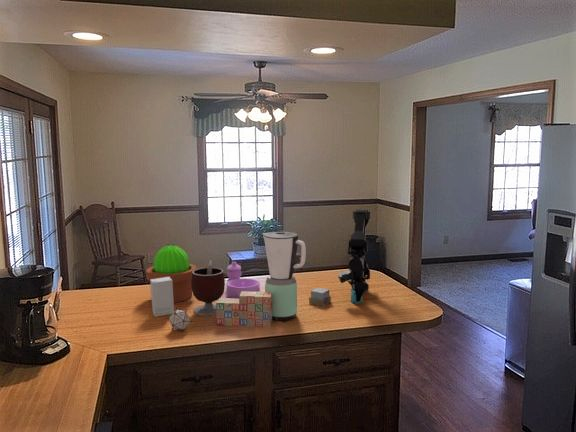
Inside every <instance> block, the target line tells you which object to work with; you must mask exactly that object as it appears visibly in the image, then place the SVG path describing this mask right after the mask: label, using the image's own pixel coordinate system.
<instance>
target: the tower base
mask: <svg viewBox="0 0 576 432" xmlns="http://www.w3.org/2000/svg"><path fill="white" fill-rule="evenodd" d="M308 298H309V299H308V303H309V305H315V306H319V307H324V306H326V305H328V304H330V303H331V302H332V299H331V298H332V297H331V295H329V297H327V298H325V299H323V300H321V299H316V298H311V296H310V297H308Z"/></svg>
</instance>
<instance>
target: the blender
mask: <svg viewBox="0 0 576 432" xmlns="http://www.w3.org/2000/svg"><path fill="white" fill-rule="evenodd" d="M261 235H262V237H263V240H264V246H265V247H264V248H265V254H266V259H267V266H268V272H269V275H268V276H267V277H266V280H265V284H264V292H272V320H273V319H274V320H282V321H283V322H289V319H292V318H294V317H295V316H296V315H297V313H298V283H297V279H296V277H295V276H294V270H295V269H301V268H302V267H304V266H305V262H306V258H307V248H306V246H307V245H306V243H305V242H304V240H300V239H299V235H298V233H296V232H291V231H272V232H271V231H270V232H262V233H261ZM299 245H300V247H301V249H300V250H301V251H300V262H299V263H296V261H297V254H298V253H297V251H298V246H299Z"/></svg>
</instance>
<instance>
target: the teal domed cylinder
mask: <svg viewBox="0 0 576 432" xmlns="http://www.w3.org/2000/svg"><path fill="white" fill-rule="evenodd" d="M350 303H352V304H356V305H358V304H362V303H363V296H362V297H361V299H360V301H359V302H357V300H356V293H355V290H351V289H350Z"/></svg>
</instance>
